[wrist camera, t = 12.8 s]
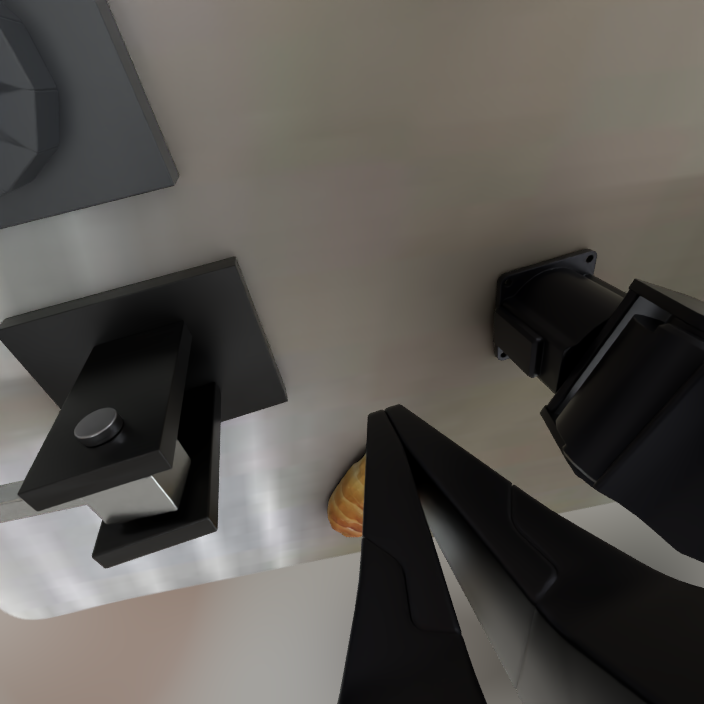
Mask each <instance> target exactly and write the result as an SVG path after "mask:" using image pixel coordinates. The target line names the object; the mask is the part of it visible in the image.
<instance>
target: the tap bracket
mask: <svg viewBox="0 0 704 704" xmlns="http://www.w3.org/2000/svg"><path fill="white" fill-rule="evenodd" d="M0 340H1V341H2V342H3V344H4V345H5V346H6V347H7V348H8V349H9V350H10V352H11V353H12V354H13V355H14V356H15V357H16V358H17V360H18V361H19V362H20V363H21V364H22V365H23V366H24V368H25V369H26V370H27V371H28V372H29V373H30V374H31V376H32V377H33V378H34V379H35V380H36V381H37V382H38V384H39V385H40V386H41V387H42V388H43V389H44V390H45V392H46V393H47V394H48V395H49V396H50V397H51V398H52V400H53V401H54V402H55V403H56V404H57V405H58V406H59V408H60V409H61V410H60V412H59V414H58V416H57V418H56V420H55V422H54V424H53V426H52V428H51V430H50V432H49V433H48V435H47V437H46V439H45V441H44V443H43V445H42V447H41V449H40V451H39V453H38V455H37V457H36V459H35V460H34V462H33V464H32V466H31V468H30V470H29V472H28V474H27V476H26V478H25V480H24V482H23V484H22V485H21V487H20V489H19V491H18V493H17V495H18V496H19V497H20V498H21V499H22V500H24V501H25V502H26V503H27V504H28V505H29V506H31V507H32V508H33V509H34V510H35V511H37V512H39V511H42V510H45V509H48V508H51V507H54V506H58V505H61V504H64V503H67V502H70V501H73V500H76V499H79V498H83V497H86V496H89V495H92V494H95V493H98V492H101V491H105V490H108V489H111V488H114V487H117V486H120V485H123V484H126V483H130V482H133V481H136V480H139V479H142V478H145V477H148V476H151V475H155V474H158V473H161V472H164V471H167V470H170V469H172V468H173V461H174V454H175V448H176V441H177V439H178V441H179V442H180V444H181V445H182V447H183V448H184V450H185V451H186V453H187V454H188V456H189V457H190V459H191V465H190V469H189V472H188V476H187V480H186V483H185V487H184V491H183V494H182V498H181V502H180V506H179V509H178V510H177V511H173V512H168V513H163V514H159V515H154V516H149V517H144V518H139V519H135V520H130V521H125V522H120V523H116V524H111V525H108V524H106V523H105V522H104V521H103V520H102V523H101V526H100V529H99V533H98V536H97V540H96V543H95V546H94V550H93V553H92V558H93V559H94V560H95V561H97V562H98V563H99V564H100V565H101V566H103V567H104V568H110V567H113V566H116V565H118V564H121V563H124V562H127V561H130V560H133V559H136V558H139V557H142V556H145V555H148V554H151V553H154V552H157V551H160V550H163V549H166V548H169V547H172V546H175V545H178V544H180V543H183V542H186V541H189V540H192V539H195V538H198V537H201V536H204V535H207V534H210V533H213V532H216V531H217V529H218V495H219V460H220V425H221V422H223V421H226V420H229V419H233V418H236V417H239V416H242V415H245V414H249V413H252V412H255V411H258V410H261V409H265V408H268V407H271V406H274V405H278V404H281V403H284V402H287V401H288V399H287V393H286V389H285V386H284V383H283V381H282V378H281V375H280V373H279V370H278V367H277V365H276V362H275V360H274V357H273V354H272V352H271V349H270V346H269V344H268V341H267V339H266V336H265V333H264V331H263V328H262V325H261V323H260V320H259V318H258V315H257V312H256V310H255V307H254V304H253V302H252V299H251V296H250V294H249V291H248V289H247V286H246V283H245V281H244V278H243V275H242V273H241V270H240V268H239V265H238V262H237V260H236V257H232V258H228V259H224V260H220V261H217V262H213V263H209V264H206V265H202V266H198V267H195V268H191V269H187V270H184V271H180V272H176V273H173V274H169V275H165V276H162V277H158V278H154V279H151V280H147V281H143V282H139V283H136V284H132V285H128V286H125V287H121V288H117V289H114V290H110V291H106V292H103V293H99V294H95V295H92V296H88V297H84V298H81V299H77V300H73V301H70V302H66V303H62V304H58V305H55V306H51V307H47V308H44V309H40V310H36V311H33V312H29V313H25V314H22V315H18V316H14V317H11V318H7V319H5V320H4V321H3V322H2V323H1V324H0Z"/></svg>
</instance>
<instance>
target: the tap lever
mask: <svg viewBox="0 0 704 704" xmlns="http://www.w3.org/2000/svg"><path fill="white" fill-rule="evenodd" d="M190 465H191V459H190V457H189V456H188V454H187V453H186V451H185V450H184V448H183V447H182V445H181V444H180V442H179V441H178V439H177V441H176V448H175V454H174V461H173V468H172V469H170V470H167V471H164V472H161V473H158V474H155V475H151V476H148V477H145V478H142V479H139V480H136V481H133V482H130V483H126V484H123V485H120V486H117V487H114V488H111V489H108V490H105V491H101V492H98V493H95V494H92V495H89V496H86V497H83V498H79V499H76V500H73V501H70V502H67V503H64V504H61V505H58V506H54V507H51V508H48V509H45V510H42V511H39V512H37V511H35V510H34V509H33V508H32V507H31V506H29V505H28V504H27V503H26V502H25V501H24V500H22V499H21V498H20V497H19V496H18V495H17V493H18V491H19V489H20V487H21V485H22V484H23V482H24V481H19V482H14V483H10V484H5V485H0V523H3V522H7V521H12V520H17V519H22V518H26V517H31V516H36V515H41V514H45V513H50V512H55V511H60V510H64V509H69V508H74V507H79V506H83V505H88V506H89V507H90V508H91V509H92V510H93V511H94V512H95V513H96V514H97V515H98V516H99V517H100V518H101V519H102V520H103V521H104V522H105V523H106V524H108V525H111V524H116V523H120V522H125V521H130V520H135V519H139V518H144V517H149V516H154V515H159V514H163V513H168V512H173V511H177V510H178V509H179V506H180V502H181V498H182V494H183V491H184V487H185V483H186V480H187V476H188V472H189V469H190Z"/></svg>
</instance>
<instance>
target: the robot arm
mask: <svg viewBox="0 0 704 704" xmlns="http://www.w3.org/2000/svg"><path fill="white" fill-rule="evenodd" d="M587 257H588V258H587ZM596 259H597V253H596V252H595V251H593V250H590V249H585V250H582V251H578V252H575V253H571V254H568V255H565V256H561V257H558V258H554V259H551V260H548V261H544V262H541V263H538V264H534V265H531V266H527V267H524V268H521V269H517V270H514V271H510V272H507V273H504V274H502V275H501V276H500V277H499V279H498V281H497V299H496V310H495V312H494V338H493V342H494V343H495V348H494V355H495V356H496V357H497V358H498V359H499V360H506V359H509V358H510V359H511V360H512V361H513V362H514V363H515V364H516V365H517V366H518V367H519V368H520V369H521V370H522V371H523V372H524V373H526V374H527V375H528V376H529V377H531V378H534V377H538V378H539V379H540V380H541V381H542V382H543V383H544V384H545V385H546V386H547V387H548V388H549V389H550V390H551V391H552V392H553V393H554V394H555V395H554V396H553V398H552V399H551V401H550V402H549V403H548V405H545V406H544V408H543V409H542V410H541V412H540V414H541V416H542V418H543V420H544V421H545V423H546V425H547V427H548V429H549V430H550V432H551V434H552V436H553V438H554V439H555V441H556V443H557V445H558V446H559V448H560V450H561V452H562V454H563V455H564V457H565V459H566V461H567V462H568V464H569V465H570V467H571V468H572V470H573V472H574V473H575V474H576V475H577V476H578V477H579V478H581V479H583V480H584V481H585V482H586V483H587V484H589V485H590V486H591V487H593V488H594V489H596V490H597V491H599V492H600V493H602V494H604V495H605V496H607V497H609V498H611V499H612V500H614V501H616V502H618V503H619V504H620V505H622V506H623V507H625V508H626V509H628V510H629V511H630V512H632V513H633V514H635V515H636V516H637V517H639V518H640V519H641V520H642V521H643V522H644V523H646V524H647V525H648V526H649V527H650V528H652V529H653V530H654V531H655V532H656V533H657V534H658V535H660V536H661V537H662V538H663V539H664V540H665V541H666V542H667V543H669V544H670V545H671V546H672V547H673V548H674V549H675V550H677V551H679V552H680V553H682V554H684V555H687V556H689V557H691V558H694V559H696V560H698V561H701V562H703V563H704V302H703V301H700V300H698V299H696V298H693V297H691V296H688V295H685V294H682V293H679V292H676V291H673V290H670V289H666V288H663V287H660V286H657V285H654V284H651V283H648V282H645V281H642V280H639V279H636V278H635V279H634V281H633V282H632V284H631V285H630V286H629V289H630V290H629V291H628V293H625V292H623V291H621V290H619V289H618V288H616V287H614V286H612V285H610V284H608V283H606V282H604V281H602V280H601V279H599V278H597V277H595V276H593V274H594V269H595V264H596ZM506 280H508V282H507V283H506V284H505V282H506ZM502 352H503V353H502ZM429 528H430V529H429ZM430 530H431V532H432V533H433V535H434V537H435V539H436V541H437V543H438V545H439V547H440V549H441V550H442V552H443V554H444V556H445V558H446V560H447V562H448V564H449V565H450V567H451V569H452V571H453V573H454V575H455V577H456V579H457V580H458V582H459V584H460V586H461V588H462V590H463V592H464V593H465V596H466V597H467V599H468V601H469V603H470V605H471V607H472V608H473V610H474V613H475V614H476V616H477V618H478V620H479V622H480V624H481V625H482V628H483V629H484V631H485V633H486V635H487V637H488V639H489V641H490V643H491V645H492V646H493V648H494V650H495V652H496V654H497V655H498V658H499V660H500V661H501V663H502V665H503V667H504V669H505V671H506V673H507V675H508V676H509V678H510V680H511V682H512V684H513V686H514V688H515V689H517V690H516V691H517V694H518V695H519V697H520V699H521V701H522V703H523V704H704V588H702V587H698V586H694V585H691V584H688V583H685V582H682V581H679V580H677V579H674V578H672V577H669V576H667V575H665V574H663V573H661V572H659V571H656V570H654V569H652V568H651V567H649V566H646V565H645V564H643V563H641V562H639V561H638V560H636V559H634V558H632V557H631V556H629V555H627V554H626V553H624V552H622V551H620V550H618V549H617V548H615V547H613V546H612V545H610V544H608V543H607V542H604V541H603V540H601V539H599V538H598V537H596V536H594V535H593V534H591V533H589V532H587V531H586V530H584V529H582V528H580V527H579V526H577V525H575V524H574V523H572V522H570V521H569V520H567V519H565V518H564V517H562V516H560V515H559V514H557V513H555V512H554V511H552V510H550V509H549V508H547V507H546V506H544V505H543V504H541V503H540V502H538V501H537V500H536V499H534V498H533V497H531V496H530V495H528V494H527V493H525V492H524V491H523V490H521V489H520V488H518V487H517V486H516V485H512V483H511V482H510V481H508V480H507V479H505V478H504V477H503V476H501V475H500V474H498V473H497V472H496V471H494V470H493V469H491V468H490V467H488V466H487V465H486V464H484V463H483V462H481V461H480V460H479V459H477V458H476V457H474V456H473V455H471V454H470V453H469V452H467V451H466V450H464V449H463V448H462V447H460V446H459V445H457V444H456V443H455V442H453V441H452V440H450V439H449V438H447V437H446V436H445V435H443V434H442V433H440V432H439V431H438V430H436V429H435V428H433V427H432V426H430V425H429V424H428V423H426V422H425V421H423V420H422V419H421V418H419V417H418V416H416V415H415V414H414V413H412V412H411V411H409V410H408V409H406V408H405V407H404V406H402V405H400V404H398V405H395V406H391V407H388V408H386V409H385V411H384V410H379V411H376V412H373V413H370V414H369V415H368V422H367V443H366V464H365V485H364V506H363V527H362V537H363V539H362V543H361V561H360V573H359V583H358V590H357V597H356V604H355V611H354V617H353V622H352V628H351V634H350V640H349V645H348V651H347V656H346V662H345V668H344V673H343V679H342V684H341V689H340V694H339V698H338V703H337V704H487V703H486V700H485V698H484V695H483V693H482V690H481V688H480V685H479V683H478V680H477V677H476V675H475V672H474V669H473V666H472V663H471V660H470V657H469V654H468V651H467V649H466V645H465V642H464V639H463V637H462V635H461V629H460V626H459V623H458V620H457V616H456V613H455V610H454V607H453V604H452V600H451V597H450V594H449V591H448V588H447V584H446V581H445V578H444V575H443V571H442V568H441V565H440V562H439V558H438V555H437V552H436V549H435V545H434V542H433V539H432V536H431V533H430Z"/></svg>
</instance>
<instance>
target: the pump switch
mask: <svg viewBox="0 0 704 704" xmlns="http://www.w3.org/2000/svg"><path fill="white" fill-rule="evenodd" d="M178 177H179V174H178V171H177V169H176V166H175V164H174V161H173V159H172V157H171V154H170V152H169V149H168V147H167V145H166V142H165V140H164V137H163V135H162V133H161V130H160V128H159V125H158V123H157V121H156V118H155V116H154V113H153V111H152V109H151V106H150V104H149V101H148V99H147V97H146V94H145V92H144V89H143V87H142V85H141V82H140V80H139V77H138V75H137V73H136V70H135V68H134V65H133V63H132V61H131V58H130V56H129V53H128V51H127V49H126V46H125V44H124V41H123V39H122V36H121V34H120V32H119V29H118V27H117V24H116V22H115V20H114V17H113V15H112V12H111V10H110V8H109V5H108V3H107V0H0V229H3V228H7V227H11V226H15V225H19V224H23V223H27V222H31V221H35V220H39V219H43V218H47V217H51V216H55V215H59V214H63V213H67V212H71V211H75V210H79V209H83V208H87V207H91V206H95V205H99V204H103V203H107V202H111V201H115V200H119V199H123V198H127V197H131V196H135V195H139V194H143V193H147V192H151V191H155V190H159V189H163V188H167V187H171V186H174V185H175V183H176V181H177V179H178Z"/></svg>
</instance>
